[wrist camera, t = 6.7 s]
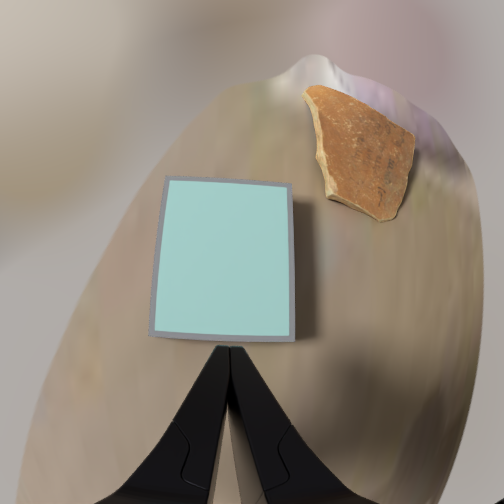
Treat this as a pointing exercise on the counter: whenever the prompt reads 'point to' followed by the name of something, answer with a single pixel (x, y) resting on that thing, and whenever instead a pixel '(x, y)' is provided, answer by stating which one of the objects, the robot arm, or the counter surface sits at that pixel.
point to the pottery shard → (360, 153)
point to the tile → (224, 261)
